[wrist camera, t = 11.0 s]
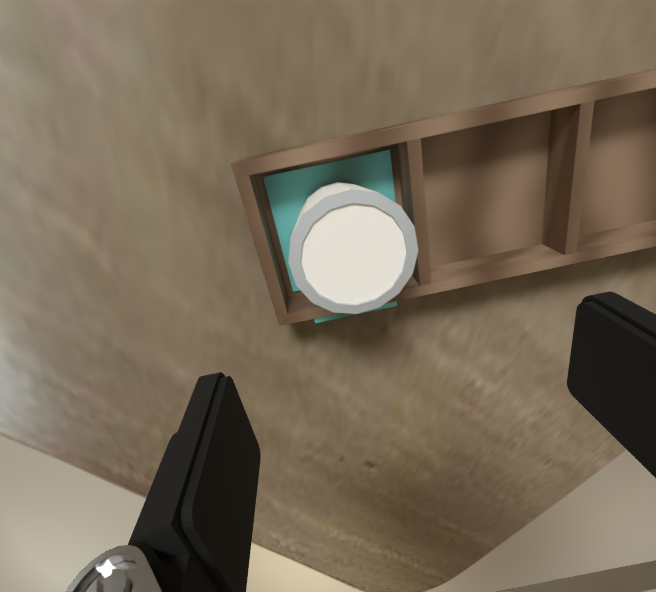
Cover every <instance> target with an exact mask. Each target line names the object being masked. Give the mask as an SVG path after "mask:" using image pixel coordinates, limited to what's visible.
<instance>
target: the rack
mask: <svg viewBox="0 0 656 592" xmlns="http://www.w3.org/2000/svg"><path fill="white" fill-rule="evenodd" d="M231 165H232V169H233V172H234V175H235V179H236V182H237V186H238V189H239V192H240V196H241V199H242V202H243V206H244V209H245V212H246V216H247V219H248V223H249V226H250V229H251V233H252V236H253V239H254V243H255V246H256V249H257V253H258V256H259V260H260V263H261V266H262V270H263V273H264V276H265V280H266V283H267V287H268V290H269V293H270V297H271V300H272V303H273V307H274V310H275V313H276V317H277V320H278V324H279V326H282V325H287V324H291V323H296V322H301V321H306V320H310V319H314V320H315V323H319V322H324V321H329V320H333V319H338V318H343V317H348V316H352V315H357V314H349V313H335V312H331V311H329V310H327V309H325V308H322V307H320V306H318V305H316V304H314V303H312V302H311V301H310V300H309V299H308V298H307V297H306V296H305V295H304V293H303V292H302V291H301V290H300V289H299V288H298V287H297V286H296V284H295V281H294V278H293V275H292V272H291V269H290V266H289V263H288V261H289V249H290V238H291V235H292V232H293V230H294V227H295V224H296V222H297V219H298V216H299V214H300V211H301V209H302V207H303V206H304V204H305V202H306V200H307V198H308V197H309V196H310V195H311V194H312V193H314V192H315V191H316V190H317V189H319V188H320V187H321V186H324V185H328V184H331V183H335V182H342V183H350V184H355V185H358V186H361V187H364V188H367V189H370V190H373V191H376V192H378V193H380V194H382V195H383V196H385V197H387V198H388V199H390V200H392V201H393V202H395V203H397V204H398V205H400V206H401V207H402V209H403V210H404V212H405V213H406V215H407V216H408V218H409V219H410V221H411V222H412V224H413V225H414V227H415V233H416V239H417V245H418V254H417V258H416V262H415V266H414V270H413V274H412V276H411V277H410V278H409V280H408V281H407V283H406V284H405V286H404V287H403V288H402V290H401V291H400V293H399V294H398V295H396V296H395V297H393V298H392V299H391V300H389V301H388V302H386V303H385V304H383V305H382V306H381V307H379V308H376V309H372V310H369V311H365V312H362V313H367V312H371V311H376V310H381V309H385V308H390V307H395V306H397V301H400V300H405V299H410V298H414V297H419V296H424V295H428V294H433V293H438V292H443V291H447V290H452V289H457V288H462V287H466V286H471V285H476V284H480V283H485V282H490V281H495V280H499V279H504V278H509V277H514V276H518V275H523V274H528V273H532V272H537V271H542V270H547V269H551V268H556V267H561V266H566V265H570V264H575V263H580V262H584V261H589V260H594V259H599V258H603V257H608V256H613V255H618V254H622V253H627V252H632V251H636V250H641V249H646V248H651V247H655V246H656V69H653V70H648V71H644V72H639V73H634V74H630V75H625V76H620V77H616V78H611V79H607V80H602V81H597V82H593V83H588V84H584V85H579V86H574V87H570V88H565V89H561V90H556V91H551V92H547V93H542V94H537V95H533V96H528V97H524V98H519V99H514V100H510V101H505V102H501V103H496V104H491V105H487V106H482V107H477V108H473V109H468V110H464V111H459V112H454V113H450V114H445V115H441V116H436V117H431V118H427V119H422V120H418V121H413V122H408V123H404V124H399V125H394V126H390V127H385V128H381V129H376V130H371V131H367V132H362V133H358V134H353V135H348V136H344V137H339V138H334V139H330V140H325V141H321V142H316V143H311V144H307V145H302V146H298V147H293V148H288V149H284V150H279V151H275V152H270V153H265V154H261V155H256V156H251V157H247V158H242V159H239V160H237V161H235V162H234V163H232V164H231ZM362 313H358V314H362Z"/></svg>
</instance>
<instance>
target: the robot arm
mask: <svg viewBox="0 0 656 592" xmlns="http://www.w3.org/2000/svg"><path fill="white" fill-rule="evenodd" d="M567 386H568V389H569V391H570V393H571V394H572V396H573V397H574V398H575V399H576V400H577V401H578V402H579V403H580V404H581V405H582V406H583V407H584V408H585V409H586V410H587V411H588V412H589V413H590V414H591V415H592V416H593V417H595V418H596V419H597V420H598V421H599V422H600V423H601V424H602V425H603V426H604V427H605V428H606V429H607V430H608V431H609V432H610V433H611V434H612V435H613V436H614V437H615V438H616V439H617V440H618V441H619V442H620V443H621V444H622V445H623V446H624V447H625V448H626V449H627V450H628V451H629V452H630V453H631V454H632V455H633V456H634V457H635V458H636V459H637V460H638V461H639V462H640V463H641V464H642V465H643V466H644V467H645V468H646V469H647V470H648V471H649V472H650V473H651V474H652V475H653V476H654V477H655V478H656V314H654V313H652V312H650V311H648V310H646V309H644V308H643V307H641V306H639V305H637V304H635V303H633V302H631V301H629V300H627V299H626V298H624V297H622V296H620V295H618V294H616V293H614V292H605V293H600V294H595V295H590V296H587V297H585V298H584V299H583V300H582V303H580V304H579V305H578V306H577V310H576V318H575V325H574V333H573V340H572V348H571V355H570V363H569V370H568V378H567ZM259 467H260V448H259V445H258V442H257V440H256V437H255V435H254V432H253V430H252V427H251V425H250V422H249V419H248V417H247V414H246V412H245V409H244V407H243V404H242V402H241V399H240V397H239V394H238V392H237V389H236V387H235V384H234V382H233V379H232V378H231V377H230V376H227V377H225V375H224V374H223V373H221V372H219V373H215V374H210V375H205V376H201V377H199V379H198V381H197V383H196V386H195V388H194V391H193V394H192V396H191V399H190V401H189V404H188V406H187V409H186V412H185V414H184V417H183V419H182V422H181V425H180V427H179V430H178V432H177V433H175V434H174V435H173V436H172V438H171V439H170V441H169V444H168V446H167V449H166V451H165V453H164V456H163V458H162V461H161V463H160V466H159V468H158V471H157V473H156V476H155V478H154V481H153V483H152V486H151V488H150V491H149V493H148V496H147V498H146V501H145V503H144V506H143V508H142V511H141V513H140V516H139V518H138V521H137V523H136V526H135V528H134V530H133V533H132V535H131V538H130V540H129V543H128V545H125V546H118V547H115V548H113V549H110V550H108V551H106V552H104V553H103V554H101V555H100V556H98V557H97V558H95V559H94V560H92V561H91V562H90V563H89V564H88V565H87V566H86V567H85V568H84V569H83V570H82V571H80V572H79V574H78V575H77V576H76V578H75V579H74V580H73V581H72V583H71V584H70V585H69V586H68V588H67V590H66V592H246V585H247V577H248V568H249V558H250V549H251V540H252V531H253V522H254V513H255V504H256V495H257V486H258V476H259ZM497 592H656V561H651V562H645V563H641V564H635V565H630V566H625V567H620V568H615V569H609V570H604V571H600V572H594V573H589V574H585V575H579V576H574V577H569V578H564V579H559V580H553V581H548V582H543V583H538V584H533V585H528V586H523V587H518V588H513V589H508V590H503V591H497Z"/></svg>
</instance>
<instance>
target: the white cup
mask: <svg viewBox="0 0 656 592" xmlns="http://www.w3.org/2000/svg"><path fill="white" fill-rule="evenodd" d="M417 254H418V245H417V239H416V233H415V227H414V225H413V224H412V222H411V221H410V219H409V218H408V216H407V215H406V213H405V212H404V210H403V209H402V207H401V206H400V205H398V204H397V203H395V202H393V201H392V200H390V199H388V198H387V197H385V196H383V195H382V194H380V193H378V192H376V191H373V190H370V189H367V188H364V187H361V186H358V185H355V184H350V183H342V182H335V183H331V184H328V185H324V186H321V187H320V188H319V189H317V190H316V191H315V192H314V193H312V194H311V195H310V196H309V197H308V198H307V200H306V202H305V204H304V206H303V207H302V209H301V211H300V214H299V216H298V219H297V222H296V224H295V227H294V230H293V232H292V235H291V238H290V249H289V261H288V263H289V266H290V269H291V272H292V275H293V278H294V281H295V284H296V286H297V287H298V288H299V289H300V290H301V291H302V292H303V293H304V295H305V296H306V297H307V298H308V299H309V300H310V301H311V302H312V303H314V304H316V305H318V306H320V307H322V308H325V309H327V310H329V311H331V312H335V313H349V314H358V313H362V312H365V311H369V310H372V309H376V308H379V307H381V306H382V305H383V304H385V303H386V302H388V301H389V300H391V299H392V298H393V297H395V296H396V295H398V294H399V293H400V291H401V290H402V288H403V287H404V286H405V284H406V283H407V281H408V280H409V278H410V277H411V276H412V274H413V270H414V266H415V262H416V258H417Z"/></svg>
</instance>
